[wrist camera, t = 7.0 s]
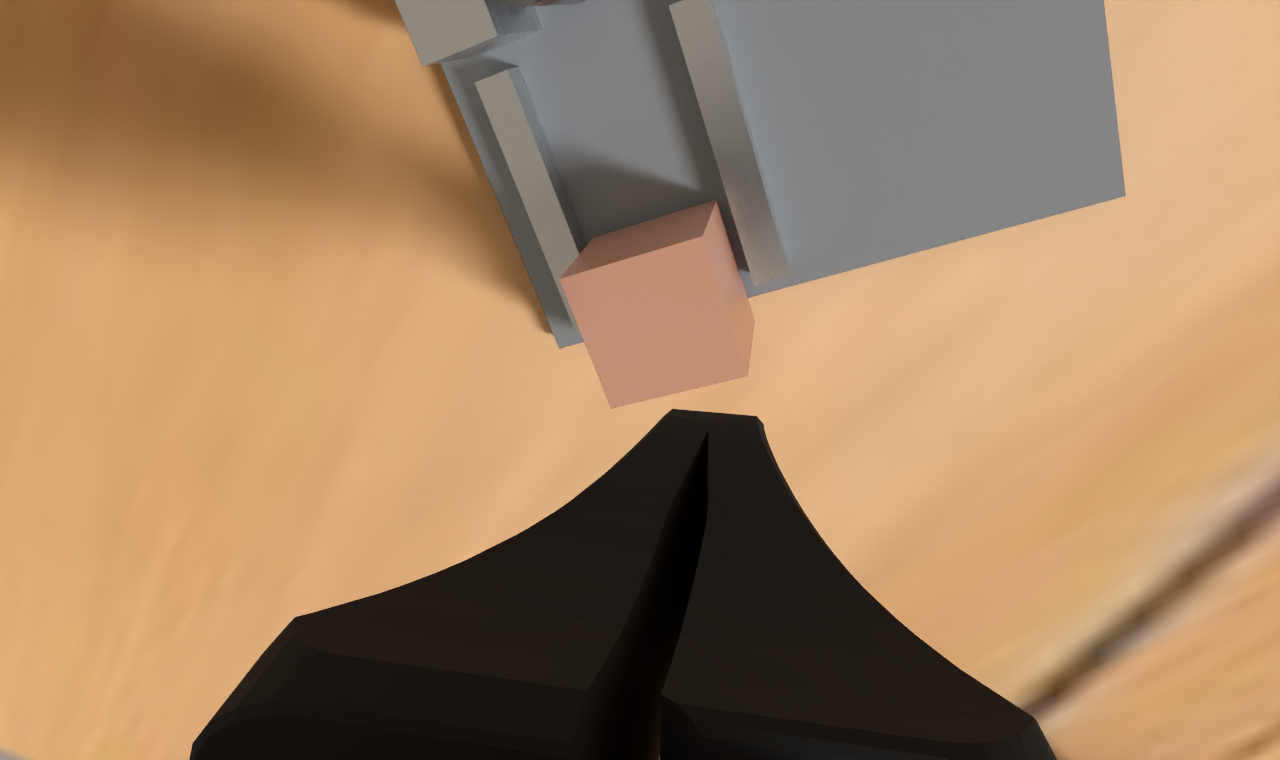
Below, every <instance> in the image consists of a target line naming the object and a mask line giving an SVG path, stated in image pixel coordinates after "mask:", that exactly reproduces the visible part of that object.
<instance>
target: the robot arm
mask: <svg viewBox="0 0 1280 760" xmlns="http://www.w3.org/2000/svg"><path fill="white" fill-rule="evenodd" d="M659 755H660V760H1057V759H1056V757H1055V755H1054V753H1053V751H1052V749H1051V748H1050V746H1049V744H1048V742H1047V740H1046V738H1045V736H1044V734H1043V732H1042V730H1041V728H1040V726H1039V724H1038V722H1037V721H1036V720H1035V718H1034V717H1032V716H1031V715H1029V714H1028V713H1026V712H1024V711H1023V710H1021V709H1020V708H1018V707H1017V706H1015V705H1014V704H1012V703H1011V702H1009V701H1008V700H1006V699H1005V698H1003V697H1002V696H1000V695H999V694H997V693H996V692H994V691H992V690H991V689H989V688H988V687H986V686H985V685H983V684H982V683H980V682H979V681H977V680H976V679H974V678H973V677H971V676H970V675H968V674H967V673H965V672H963V671H962V670H960V669H959V668H958V667H956V666H955V665H954V664H952V663H951V662H950V661H948V660H947V659H946V658H944V657H943V656H942V655H941V654H939V653H938V652H937V651H935V650H934V649H933V648H932V647H930V646H929V645H928V644H926V643H925V642H924V641H923V640H921V639H920V638H919V637H917V636H916V635H915V634H914V633H912V632H911V631H910V630H909V629H908V628H907V627H905V626H904V625H903V624H902V623H901V622H900V621H898V620H897V619H896V618H895V617H894V616H893V615H892V614H891V613H890V612H889V611H888V610H887V609H885V608H884V607H883V606H882V605H881V604H880V603H879V602H878V601H877V600H876V599H875V598H874V597H873V596H872V595H871V594H870V593H868V592H867V591H866V590H865V589H864V588H863V587H862V586H861V584H860V583H859V582H858V581H857V580H856V579H855V578H854V577H853V576H852V575H851V574H850V573H849V571H848V570H847V569H846V568H845V567H844V565H843V564H842V563H841V562H840V561H839V559H838V558H837V557H836V556H835V555H834V553H833V552H832V551H831V550H830V548H829V547H828V546H827V544H826V543H825V542H824V540H823V539H822V538H821V536H820V535H819V533H818V532H817V531H816V529H815V528H814V526H813V525H812V523H811V522H810V520H809V519H808V517H807V516H806V514H805V513H804V511H803V510H802V508H801V506H800V505H799V503H798V502H797V500H796V498H795V497H794V495H793V493H792V491H791V489H790V487H789V486H788V484H787V482H786V480H785V478H784V477H783V475H782V473H781V471H780V469H779V467H778V465H777V463H776V460H775V458H774V456H773V453H772V451H771V449H770V446H769V444H768V441H767V438H766V435H765V431H764V424H763V423H762V422H761V421H760V420H759V419H758V417H757V416H748V415H736V414H725V413H713V412H701V411H690V410H678V409H672V410H671V411H670V412H668V413H667V414H666V415H665V416H664V417H663V418H662V419H661V420H660V421H659V422H658V423H657V424H656V425H655V426H654V427H653V428H652V429H651V430H650V431H649V432H648V433H647V434H646V435H645V436H644V437H643V438H642V439H641V440H640V441H639V442H638V443H637V444H636V445H635V446H634V447H633V448H632V449H631V450H630V451H629V452H628V453H627V454H626V455H625V456H624V457H623V458H621V459H620V460H619V461H618V462H617V463H616V464H615V465H614V466H613V467H612V468H611V469H609V470H608V471H607V472H606V473H605V474H604V475H602V476H601V477H600V478H599V479H598V480H596V481H595V482H594V483H593V484H591V485H590V486H589V487H588V488H586V489H585V490H584V491H582V492H581V493H580V494H579V495H577V496H576V497H575V498H574V499H572V500H571V501H570V502H568V503H567V504H566V505H564V506H563V507H561V508H560V509H558V510H557V511H555V512H554V513H552V514H551V515H549V516H547V517H546V518H544V519H543V520H541V521H539V522H538V523H536V524H535V525H533V526H531V527H530V528H528V529H526V530H524V531H523V532H521V533H519V534H517V535H515V536H513V537H511V538H509V539H507V540H505V541H503V542H501V543H499V544H497V545H495V546H493V547H491V548H489V549H487V550H485V551H483V552H482V553H480V554H478V555H476V556H474V557H472V558H470V559H468V560H465V561H463V562H461V563H459V564H456V565H454V566H451V567H449V568H447V569H444V570H442V571H439V572H437V573H434V574H432V575H429V576H427V577H424V578H421V579H419V580H416V581H413V582H411V583H408V584H405V585H403V586H400V587H397V588H394V589H391V590H388V591H385V592H382V593H379V594H376V595H372V596H369V597H366V598H362V599H359V600H355V601H352V602H348V603H345V604H341V605H338V606H335V607H331V608H328V609H324V610H321V611H317V612H314V613H310V614H306V615H302V616H298V617H295V618H294V619H293V620H292V621H291V622H290V623H289V624H288V626H287V627H286V628H285V629H284V630H283V631H282V632H281V633H280V635H279V636H278V637H277V638H276V639H275V640H274V641H273V642H272V644H271V645H270V646H269V647H268V648H267V649H266V650H265V651H264V653H263V654H262V655H261V657H260V658H259V659H258V660H257V662H256V663H255V664H254V665H253V667H252V668H251V669H250V671H249V672H248V673H247V674H246V676H245V677H244V678H243V680H242V681H241V682H240V683H239V685H238V686H237V687H236V688H235V690H234V691H233V692H232V694H231V695H230V696H229V697H228V699H227V700H226V701H225V702H224V704H223V705H222V706H221V708H220V709H219V710H218V711H217V713H216V714H215V715H214V716H213V718H212V719H211V720H210V722H209V723H208V724H207V725H206V727H205V728H204V729H203V731H202V732H201V733H200V735H199V736H198V737H197V739H196V740H195V741H194V742H193V745H192V750H191V755H190V760H659Z"/></svg>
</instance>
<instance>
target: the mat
mask: <svg viewBox="0 0 1280 760" xmlns="http://www.w3.org/2000/svg"><path fill="white" fill-rule="evenodd" d="M679 1H682V0H586V1H584V2H582V3H578V4H573V5H551V6H535V8H536V11H537V13H538V16H539V19H540V22H541V24H542V27H543V30H541V31H538V32H536V33H533V34H531V35H529V36H526V37H524V38H521V39H519V40H516V41H514V42H511V43H509V44H506V45H504V46H502V47H499V48H497V49H494V50H492V51H489V52H487V53H484V54H482V55H479V56H475V57H470V58H465V59H460V60H455V61H450V62H444V63H441V66H442V68H443V71H444V73H445V75H446V78H447V80H448V83H449V85H450V87H451V90H452V92H453V95H454V97H455V99H456V102H457V104H458V107H459V109H460V111H461V114H462V116H463V119H464V121H465V123H466V126H467V128H468V131H469V133H470V135H471V138H472V140H473V143H474V145H475V147H476V150H477V152H478V154H479V157H480V159H481V162H482V164H483V166H484V169H485V171H486V174H487V176H488V178H489V181H490V183H491V186H492V188H493V190H494V193H495V195H496V198H497V200H498V202H499V205H500V207H501V210H502V212H503V214H504V217H505V219H506V222H507V224H508V226H509V229H510V231H511V234H512V236H513V238H514V241H515V243H516V246H517V248H518V250H519V253H520V255H521V258H522V260H523V262H524V265H525V267H526V270H527V272H528V274H529V277H530V279H531V282H532V284H533V286H534V289H535V291H536V294H537V296H538V298H539V301H540V303H541V306H542V308H543V310H544V313H545V315H546V318H547V320H548V322H549V325H550V327H551V330H552V332H553V334H554V337H555V339H556V342H557V344H558V346H559V349H560V348H563V347H567V346H571V345H575V344H578V343H582V342H584V340H583V337H582V335H581V333H580V334H576V332H575V330H574V327H573V325H572V322H571V320H570V317H569V315H568V312H567V310H566V307H565V305H564V302H563V300H562V297H561V295H560V292H559V290H558V288H557V285H556V283H555V280H554V278H553V275H552V273H551V270H550V268H549V265H548V263H547V260H546V258H545V255H544V253H543V251H542V248H541V246H540V243H539V241H538V238H537V236H536V233H535V231H534V228H533V226H532V223H531V221H530V218H529V216H528V213H527V211H526V209H525V206H524V204H523V201H522V199H521V196H520V194H519V191H518V189H517V186H516V184H515V181H514V179H513V176H512V174H511V171H510V169H509V167H508V164H507V162H506V159H505V157H504V154H503V152H502V149H501V147H500V144H499V142H498V139H497V137H496V134H495V132H494V129H493V127H492V125H491V122H490V120H489V117H488V115H487V112H486V110H485V107H484V105H483V102H482V100H481V97H480V95H479V92H478V90H477V88H476V85H475V82H477V81H480V80H482V79H485V78H487V77H490V76H492V75H495V74H497V73H500V72H502V71H505V70H507V69H511V68H515V67H520V69H521V72H522V75H523V77H524V80H525V82H526V85H527V88H528V90H529V93H530V96H531V98H532V101H533V103H534V106H535V109H536V111H537V114H538V117H539V119H540V122H541V124H542V127H543V130H544V132H545V135H546V138H547V140H548V143H549V145H550V148H551V151H552V153H553V156H554V158H555V161H556V164H557V166H558V169H559V172H560V174H561V177H562V179H563V182H564V185H565V187H566V190H567V193H568V195H569V198H570V200H571V203H572V206H573V208H574V211H575V214H576V216H577V219H578V221H579V224H580V227H581V229H582V232H583V234H584V237H585V240H586V242H587V245H588V244H589V242H590V241H591V240H592V239H593V238H594V237H597V236H601V235H604V234H607V233H610V232H613V231H617V230H620V229H623V228H626V227H629V226H633V225H636V224H639V223H642V222H645V221H649V220H652V219H655V218H658V217H661V216H665V215H668V214H671V213H674V212H678V211H681V210H684V209H687V208H690V207H694V206H697V205H700V204H703V203H706V202H710V201H713V200H716V199H717V202H718V205H719V208H720V211H721V214H722V218H723V221H724V224H725V227H726V231H727V234H728V237H729V240H730V243H731V247H732V250H733V253H734V256H735V260H736V263H737V266H738V269H739V272H740V276H741V279H742V282H743V285H744V289H745V292H746V295H747V298H749V297H753V296H756V295H760V294H764V293H767V292H771V291H775V290H779V289H782V288H786V287H790V286H793V285H797V284H801V283H804V282H808V281H812V280H816V279H819V278H823V277H827V276H830V275H834V274H838V273H842V272H845V271H849V270H853V269H856V268H860V267H864V266H868V265H871V264H875V263H879V262H882V261H886V260H890V259H893V258H897V257H901V256H905V255H908V254H912V253H916V252H919V251H923V250H927V249H931V248H934V247H938V246H942V245H945V244H949V243H953V242H957V241H960V240H964V239H968V238H971V237H975V236H979V235H983V234H986V233H990V232H994V231H997V230H1001V229H1005V228H1008V227H1012V226H1016V225H1020V224H1023V223H1027V222H1031V221H1034V220H1038V219H1042V218H1046V217H1049V216H1053V215H1057V214H1060V213H1064V212H1068V211H1072V210H1075V209H1079V208H1083V207H1086V206H1090V205H1094V204H1097V203H1101V202H1105V201H1109V200H1112V199H1116V198H1120V197H1123V196H1126V195H1125V186H1124V178H1123V169H1122V160H1121V151H1120V142H1119V133H1118V124H1117V115H1116V106H1115V97H1114V88H1113V79H1112V70H1111V62H1110V53H1109V44H1108V35H1107V26H1106V17H1105V8H1104V0H714V1H715V5H716V8H717V12H718V15H719V19H720V22H721V26H722V29H723V33H724V36H725V40H726V43H727V47H728V50H729V54H730V57H731V61H732V64H733V68H734V71H735V75H736V79H737V82H738V86H739V89H740V93H741V96H742V100H743V103H744V107H745V110H746V114H747V117H748V121H749V124H750V128H751V131H752V135H753V138H754V142H755V145H756V149H757V152H758V156H759V159H760V163H761V166H762V170H763V173H764V177H765V181H766V184H767V188H768V191H769V195H770V198H771V202H772V205H773V209H774V212H775V216H776V219H777V223H778V226H779V230H780V233H781V237H782V240H783V244H784V247H785V251H786V254H787V258H788V261H789V265H790V267H789V276H788V277H784V278H781V279H777V280H773V281H770V282H766V283H762V284H759V285H755V286H754V284H753V280H752V277H751V274H750V271H749V267H748V264H747V261H746V257H745V254H744V251H743V248H742V244H741V241H740V238H739V235H738V231H737V228H736V225H735V221H734V218H733V215H732V212H731V208H730V205H729V202H728V198H727V195H726V192H725V189H724V185H723V182H722V179H721V176H720V172H719V169H718V166H717V162H716V159H715V156H714V153H713V149H712V146H711V143H710V139H709V136H708V133H707V130H706V126H705V123H704V120H703V117H702V113H701V110H700V107H699V103H698V100H697V97H696V94H695V90H694V87H693V84H692V80H691V77H690V74H689V71H688V67H687V64H686V61H685V58H684V54H683V51H682V48H681V44H680V41H679V38H678V35H677V31H676V28H675V25H674V21H673V18H672V15H671V12H670V8H669V5H672V4H674V3H677V2H679Z"/></svg>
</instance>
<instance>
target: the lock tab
mask: <svg viewBox="0 0 1280 760" xmlns="http://www.w3.org/2000/svg"><path fill="white" fill-rule="evenodd" d="M559 280H560V283H561V285H562V288H563V290H564V292H565V295H566V297H567V300H568V302H569V305H570V307H571V310H572V312H573V315H574V317H575V320H576V322H577V325H578V327H579V330H580V332H581V335H582V337H583V340H584V342H585V345H586V347H587V350H588V352H589V355H590V357H591V360H592V362H593V365H594V367H595V370H596V372H597V374H598V377H599V379H600V382H601V384H602V387H603V389H604V392H605V394H606V397H607V399H608V402H609V404H610V407H611V409H612V408H616V407H620V406H624V405H628V404H633V403H637V402H641V401H645V400H649V399H653V398H658V397H662V396H666V395H670V394H674V393H679V392H683V391H687V390H691V389H695V388H700V387H704V386H708V385H712V384H716V383H720V382H725V381H729V380H733V379H737V378H741V377H746V376H748V370H749V362H750V354H751V346H752V338H753V330H754V322H755V321H754V318H753V314H752V311H751V308H750V305H749V301H748V298H747V295H746V292H745V289H744V285H743V282H742V279H741V276H740V272H739V269H738V266H737V263H736V260H735V256H734V253H733V250H732V247H731V243H730V240H729V237H728V234H727V231H726V227H725V224H724V221H723V218H722V214H721V211H720V208H719V205H718V202H717V199H716V200H713V201H710V202H706V203H703V204H700V205H697V206H694V207H690V208H687V209H684V210H681V211H678V212H674V213H671V214H668V215H665V216H661V217H658V218H655V219H652V220H649V221H645V222H642V223H639V224H636V225H633V226H629V227H626V228H623V229H620V230H617V231H613V232H610V233H607V234H604V235H601V236H597V237H594V238H593V239H592V240H591V241H590V242H589V244H588V245H587V246H586V247H585V248H584V250H583V251H582V252H581V253H580V255H579V256H578V257H577V258H576V259H575V261H574V262H573V263H572V264H571V265H570V267H569V268H568V269H567V270H566V271H565V273H564V274H563V275H562V276H561V277H560V279H559Z"/></svg>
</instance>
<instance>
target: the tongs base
mask: <svg viewBox="0 0 1280 760" xmlns="http://www.w3.org/2000/svg"><path fill="white" fill-rule="evenodd" d="M584 1H586V0H395V2H396V5H397V7H398V9H399V12H400V14H401V16H402V19H403V21H404V23H405V26H406V28H407V31H408V33H409V35H410V38H411V40H412V42H413V45H414V47H415V49H416V52H417V54H418V56H419V59H420V61H421V63H422V66H423V67H424V66H429V65H434V64H439V63H444V62H450V61H455V60H460V59H465V58H470V57H475V56H479V55H482V54H484V53H487V52H489V51H492V50H494V49H497V48H499V47H502V46H504V45H506V44H509V43H511V42H514V41H516V40H519V39H521V38H524V37H526V36H529V35H531V34H533V33H536V32H538V31H541V30H543V27H542V24H541V22H540V19H539V16H538V13H537V11H536V8H535V6H551V5H573V4H578V3H582V2H584ZM669 8H670V12H671V15H672V18H673V21H674V25H675V28H676V31H677V35H678V38H679V41H680V44H681V48H682V51H683V54H684V58H685V61H686V64H687V67H688V71H689V74H690V77H691V80H692V84H693V87H694V90H695V94H696V97H697V100H698V103H699V107H700V110H701V113H702V117H703V120H704V123H705V126H706V130H707V133H708V136H709V139H710V143H711V146H712V149H713V153H714V156H715V159H716V162H717V166H718V169H719V172H720V176H721V179H722V182H723V185H724V189H725V192H726V195H727V198H728V202H729V205H730V208H731V212H732V215H733V218H734V221H735V225H736V228H737V231H738V235H739V238H740V241H741V244H742V248H743V251H744V254H745V257H746V261H747V264H748V267H749V271H750V274H751V277H752V280H753V284H754V286H755V285H759V284H762V283H766V282H770V281H773V280H777V279H781V278H784V277H788V276H789V267H790V265H789V261H788V258H787V254H786V251H785V247H784V244H783V240H782V237H781V233H780V230H779V226H778V223H777V219H776V216H775V212H774V209H773V205H772V202H771V198H770V195H769V191H768V188H767V184H766V181H765V177H764V173H763V170H762V166H761V163H760V159H759V156H758V152H757V149H756V145H755V142H754V138H753V135H752V131H751V128H750V124H749V121H748V117H747V114H746V110H745V107H744V103H743V100H742V96H741V93H740V89H739V86H738V82H737V79H736V75H735V71H734V68H733V64H732V61H731V57H730V54H729V50H728V47H727V43H726V40H725V36H724V33H723V29H722V26H721V22H720V19H719V15H718V12H717V8H716V5H715V1H714V0H682V1H679V2H677V3H674V4H672V5H669ZM475 85H476V88H477V90H478V92H479V95H480V97H481V100H482V102H483V105H484V107H485V110H486V112H487V115H488V117H489V120H490V122H491V125H492V127H493V129H494V132H495V134H496V137H497V139H498V142H499V144H500V147H501V149H502V152H503V154H504V157H505V159H506V162H507V164H508V167H509V169H510V171H511V174H512V176H513V179H514V181H515V184H516V186H517V189H518V191H519V194H520V196H521V199H522V201H523V204H524V206H525V209H526V211H527V213H528V216H529V218H530V221H531V223H532V226H533V228H534V231H535V233H536V236H537V238H538V241H539V243H540V246H541V248H542V251H543V253H544V255H545V258H546V260H547V263H548V265H549V268H550V270H551V273H552V275H553V278H554V280H555V283H556V285H557V288H558V290H559V292H560V295H561V297H562V300H563V302H564V305H565V307H566V310H567V312H568V315H569V317H570V320H571V322H572V325H573V327H574V330H575V332H576V334H580V333H581V332H580V330H579V327H578V325H577V322H576V320H575V317H574V315H573V312H572V310H571V307H570V305H569V302H568V300H567V297H566V295H565V292H564V290H563V288H562V285H561V283H560V280H559V279H560V277H561V276H562V275H563V274H564V273H565V271H566V270H567V269H568V268H569V267H570V265H571V264H572V263H573V262H574V261H575V259H576V258H577V257H578V256H579V255H580V253H581V252H582V251H583V250H584V248H585V247H586V246H587V242H586V240H585V237H584V234H583V232H582V229H581V227H580V224H579V221H578V219H577V216H576V214H575V211H574V208H573V206H572V203H571V200H570V198H569V195H568V193H567V190H566V187H565V185H564V182H563V179H562V177H561V174H560V172H559V169H558V166H557V164H556V161H555V158H554V156H553V153H552V151H551V148H550V145H549V143H548V140H547V138H546V135H545V132H544V130H543V127H542V124H541V122H540V119H539V117H538V114H537V111H536V109H535V106H534V103H533V101H532V98H531V96H530V93H529V90H528V88H527V85H526V82H525V80H524V77H523V75H522V72H521V69H520V67H515V68H511V69H507V70H505V71H502V72H500V73H497V74H495V75H492V76H490V77H487V78H485V79H482V80H480V81H477V82H475Z"/></svg>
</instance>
